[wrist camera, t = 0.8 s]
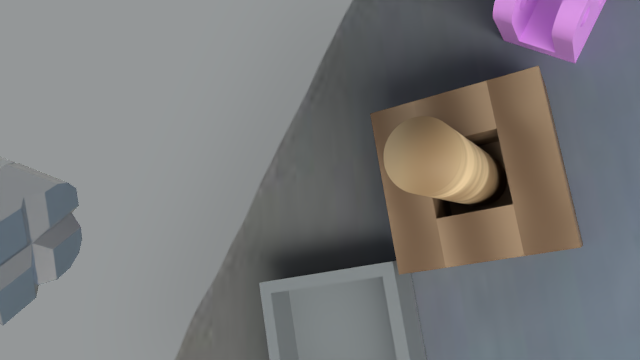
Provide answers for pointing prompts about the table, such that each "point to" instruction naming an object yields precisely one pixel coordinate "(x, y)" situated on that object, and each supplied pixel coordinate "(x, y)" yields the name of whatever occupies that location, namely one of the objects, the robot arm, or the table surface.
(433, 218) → the walnut holder
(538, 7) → the bracket
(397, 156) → the oak dowel
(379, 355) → the grey tray
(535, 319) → the table surface
